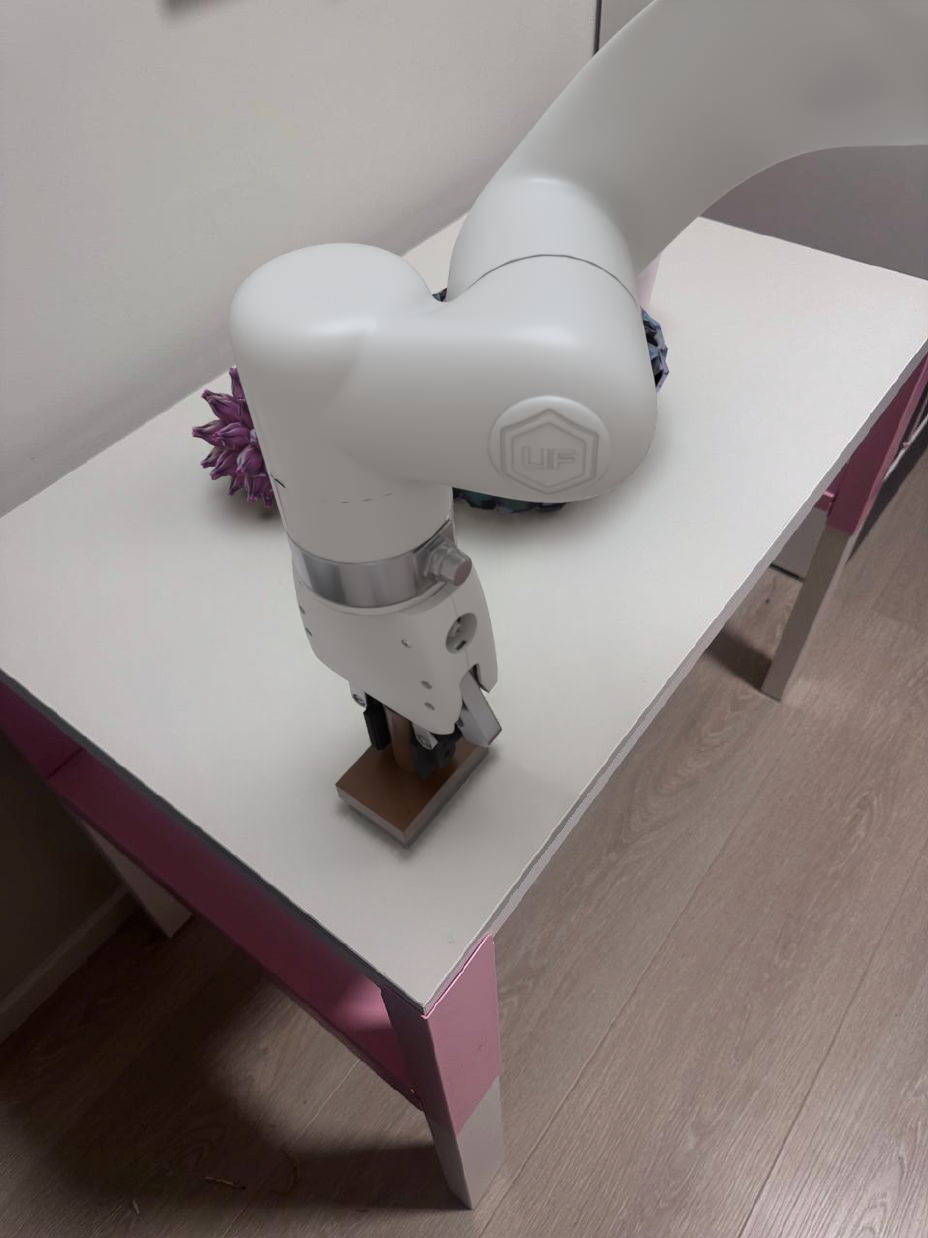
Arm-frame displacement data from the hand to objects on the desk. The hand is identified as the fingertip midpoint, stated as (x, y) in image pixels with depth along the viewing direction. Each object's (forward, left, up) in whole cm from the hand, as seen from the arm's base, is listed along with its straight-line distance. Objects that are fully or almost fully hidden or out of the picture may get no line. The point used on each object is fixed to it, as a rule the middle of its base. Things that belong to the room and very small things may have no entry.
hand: (413, 745), depth 54 cm
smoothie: (-19, -51, -4) cm, 55 cm away
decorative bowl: (-7, -35, -4) cm, 36 cm away
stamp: (0, 0, -4) cm, 4 cm away
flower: (+13, -29, -4) cm, 32 cm away
